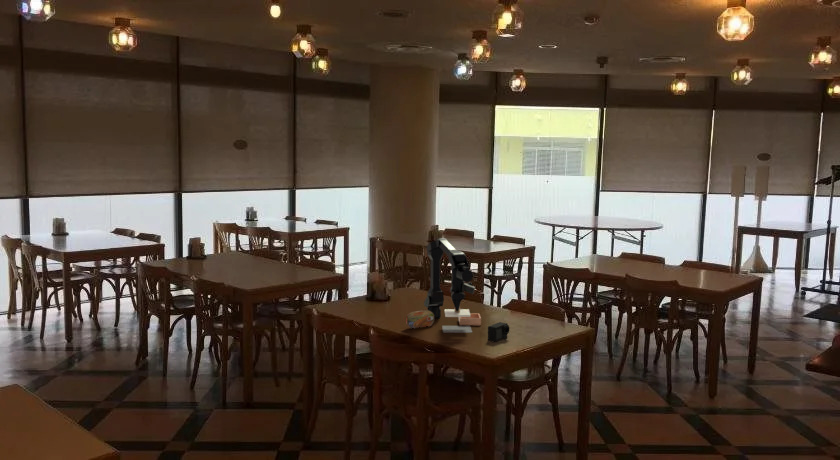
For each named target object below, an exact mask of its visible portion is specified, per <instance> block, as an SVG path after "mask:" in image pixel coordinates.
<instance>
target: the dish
mask: <svg viewBox="0 0 840 460" xmlns="http://www.w3.org/2000/svg"><path fill="white" fill-rule="evenodd" d="M458 324H459V326H481V325H482V317H481V314H480V313H479V312H478V313H475V312H474V313H471V312H470V317H458Z"/></svg>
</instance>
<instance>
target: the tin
mask: <svg viewBox="0 0 840 460" xmlns="http://www.w3.org/2000/svg"><path fill="white" fill-rule="evenodd" d="M435 320H436V319H435V317H434V314H433V313H432V312H431V311H428V310H426V309H424V310H416V311H411V312H409V313H407V315H406V316H405V323H406V326H407V327H409V328H410V329H412V328H414V329H418V328H419V327H420V328H426V326H428V327H431V326H432V325H433V324H434V323H435Z"/></svg>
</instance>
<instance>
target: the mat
mask: <svg viewBox="0 0 840 460" xmlns="http://www.w3.org/2000/svg"><path fill="white" fill-rule="evenodd" d="M471 326H472V325H441V327H442V333H451V334H452V333H453V334H454V333H456V334H457V333H459V334H460V333H465V334H466V333H473V330H472V327H471Z"/></svg>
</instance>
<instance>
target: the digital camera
mask: <svg viewBox="0 0 840 460" xmlns="http://www.w3.org/2000/svg"><path fill="white" fill-rule="evenodd" d="M509 332H510V325H508V323H506V322H502V321H499V322H496V323H494V324H491V325H488V326H487V340H488V341H490V342H491V341H494V342H493V343H497V341H498V342H499V341H501V340H503V339H504V338H505V339H507V338H508V334H509Z"/></svg>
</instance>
